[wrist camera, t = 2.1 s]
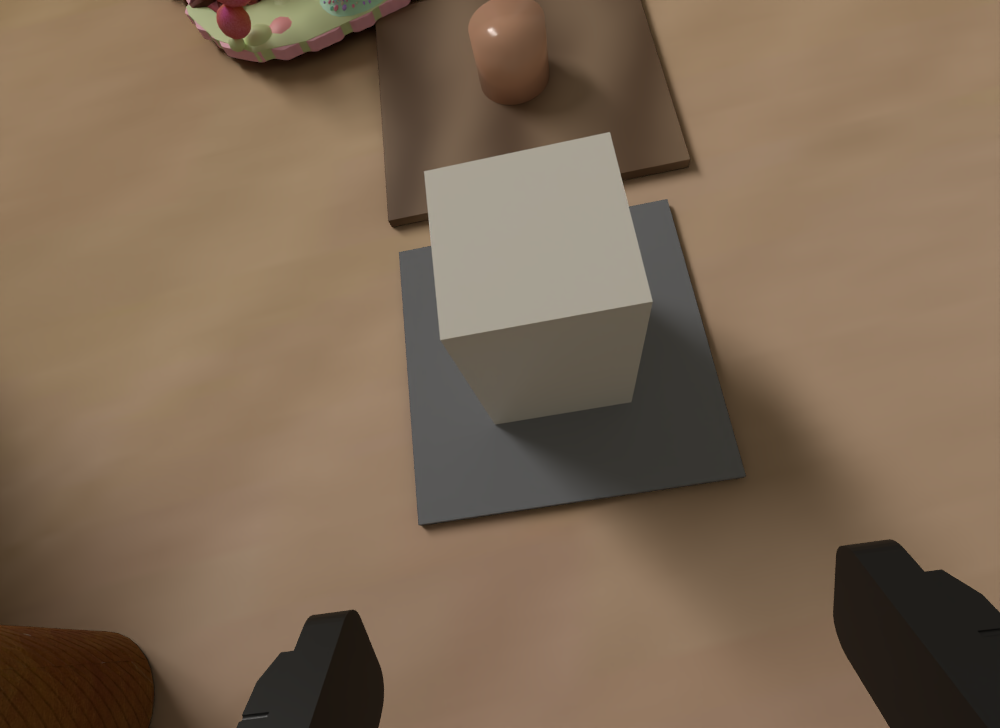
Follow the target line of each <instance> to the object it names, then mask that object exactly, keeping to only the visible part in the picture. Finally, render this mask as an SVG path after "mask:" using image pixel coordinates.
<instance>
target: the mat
mask: <svg viewBox="0 0 1000 728" xmlns="http://www.w3.org/2000/svg"><path fill="white" fill-rule="evenodd" d="M629 210H630V213H631V217H632V221H633V225H634V229H635V233H636V237H637V241H638V245H639V249H640V253H641V257H642V261H643V265H644V269H645V273H646V277H647V281H648V285H649V289H650V293H651V297H652V301H653V303H652V307H651V312H650V317H649V322H648V326H647V331H646V336H645V341H644V345H643V350H642V355H641V360H640V364H639V369H638V374H637V378H636V383H635V388H634V393H633V397H632V402H629V403H623V404H617V405H611V406H605V407H599V408H593V409H587V410H581V411H575V412H569V413H563V414H557V415H550V416H544V417H538V418H532V419H526V420H520V421H514V422H508V423H502V424H496V425H495V424H494V422H493V421H492V419H491V418H490V416H489V415H488V413H487V412H486V410H485V408H484V407H483V405H482V404H481V402H480V401H479V399H478V398H477V396H476V395H475V393H474V391H473V390H472V388H471V387H470V385H469V384H468V382H467V381H466V379H465V378H464V376H463V374H462V373H461V371H460V370H459V368H458V367H457V365H456V364H455V362H454V361H453V359H452V357H451V356H450V354H449V353H448V351H447V350H446V348H445V347H444V345H443V344H442V342H441V340H440V333H439V322H438V312H437V301H436V291H435V280H434V270H433V260H432V249H431V246H428V247H423V248H418V249H413V250H408V251H403V252H399V259H400V273H401V287H402V301H403V315H404V329H405V343H406V357H407V371H408V385H409V399H410V413H411V427H412V441H413V455H414V469H415V483H416V497H417V511H418V525H421V526H422V525H428V524H435V523H442V522H448V521H455V520H462V519H469V518H475V517H482V516H489V515H495V514H502V513H509V512H515V511H522V510H529V509H536V508H542V507H549V506H556V505H562V504H569V503H576V502H582V501H589V500H596V499H603V498H609V497H616V496H623V495H629V494H636V493H643V492H649V491H656V490H663V489H670V488H676V487H683V486H690V485H696V484H703V483H710V482H716V481H723V480H730V479H737V478H743V477H745V476H746V475H745V471H744V468H743V464H742V460H741V457H740V453H739V450H738V446H737V443H736V439H735V436H734V432H733V429H732V425H731V422H730V418H729V415H728V411H727V408H726V404H725V401H724V397H723V394H722V390H721V387H720V383H719V380H718V376H717V373H716V369H715V366H714V362H713V358H712V355H711V351H710V348H709V344H708V341H707V337H706V334H705V330H704V327H703V323H702V320H701V316H700V313H699V309H698V306H697V302H696V299H695V295H694V292H693V288H692V285H691V281H690V278H689V274H688V271H687V267H686V264H685V260H684V256H683V253H682V249H681V246H680V242H679V239H678V235H677V232H676V228H675V225H674V221H673V218H672V214H671V211H670V207H669V204H668V200H667V199H666V200H661V201H655V202H650V203H645V204H640V205H635V206H630V207H629Z"/></svg>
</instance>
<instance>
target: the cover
mask: <svg viewBox="0 0 1000 728" xmlns="http://www.w3.org/2000/svg"><path fill="white" fill-rule="evenodd" d="M424 176H425V187H426V197H427V208H428V218H429V228H430V239H431V249H432V260H433V270H434V280H435V291H436V301H437V312H438V322H439V333H440V340H441V342H442V344H443V345H444V347H445V348H446V350H447V351H448V353H449V354H450V356H451V357H452V359H453V361H454V362H455V364H456V365H457V367H458V368H459V370H460V371H461V373H462V374H463V376H464V378H465V379H466V381H467V382H468V384H469V385H470V387H471V388H472V390H473V391H474V393H475V395H476V396H477V398H478V399H479V401H480V402H481V404H482V405H483V407H484V408H485V410H486V412H487V413H488V415H489V416H490V418H491V419H492V421H493V422H494V424H495V425H496V424H502V423H508V422H514V421H520V420H526V419H532V418H538V417H544V416H550V415H557V414H563V413H569V412H575V411H581V410H587V409H593V408H599V407H605V406H611V405H617V404H623V403H629V402H632V397H633V393H634V388H635V383H636V378H637V374H638V369H639V364H640V360H641V355H642V350H643V345H644V341H645V336H646V331H647V326H648V322H649V317H650V312H651V307H652V303H653V301H652V297H651V293H650V289H649V285H648V281H647V277H646V273H645V269H644V265H643V261H642V257H641V253H640V249H639V245H638V241H637V237H636V233H635V229H634V225H633V221H632V217H631V213H630V210H629V206H628V202H627V198H626V194H625V190H624V186H623V182H622V178H621V174H620V170H619V166H618V162H617V158H616V154H615V150H614V146H613V142H612V138H611V134H610V132H608V133H603V134H598V135H593V136H589V137H584V138H579V139H574V140H570V141H565V142H560V143H556V144H551V145H546V146H541V147H537V148H532V149H527V150H522V151H518V152H513V153H508V154H504V155H499V156H494V157H489V158H485V159H480V160H475V161H470V162H466V163H461V164H456V165H452V166H447V167H442V168H437V169H433V170H428V171H424Z"/></svg>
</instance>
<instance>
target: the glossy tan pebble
mask: <svg viewBox="0 0 1000 728" xmlns="http://www.w3.org/2000/svg"><path fill="white" fill-rule="evenodd" d="M468 32H469V37H470V41H471V45H472V50H473V54H474V58H475V63H476V67H477V71H478V76H479V80H480V84H481V88H482V91H483V93H484V94H485V95H486V97H488V98H489V99H490V100H492V101H494V102H496V103H499V104H503V105H517V104H521V103H525V102H527V101H530V100H532V99H533V98H535V97H536V96H538V95H539V94H540V93H541V92H542V91H543V90H544V89H545V87H546V85H547V83H548V81H549V76H550V73H549V61H548V50H547V39H546V27H545V16H544V12H543V9H542V8H541V6H540V5H539V4H538V3H537V2H536V1H534V0H490V1H488V2H486V3H485V4H483V5H482V6H481V7H479V8H478V9H477V10H476V11H475V13H474V14H473V15H472V17H471V19H470V22H469V26H468Z"/></svg>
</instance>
